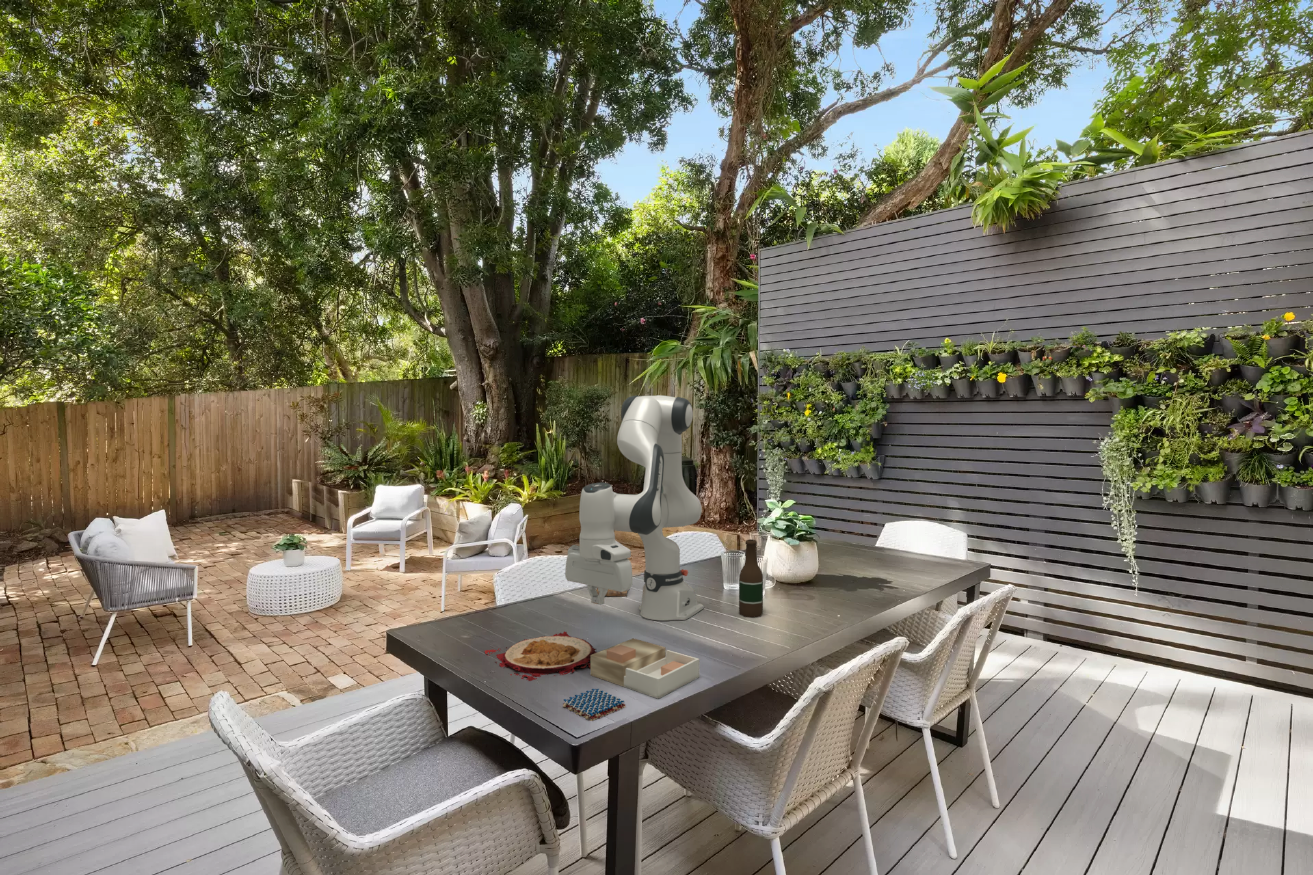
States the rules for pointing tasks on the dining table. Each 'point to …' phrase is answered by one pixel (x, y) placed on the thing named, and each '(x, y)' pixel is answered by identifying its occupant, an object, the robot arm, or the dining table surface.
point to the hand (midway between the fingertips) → (597, 603)
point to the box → (658, 685)
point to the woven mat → (594, 704)
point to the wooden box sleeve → (617, 670)
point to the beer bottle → (751, 584)
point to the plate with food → (547, 655)
